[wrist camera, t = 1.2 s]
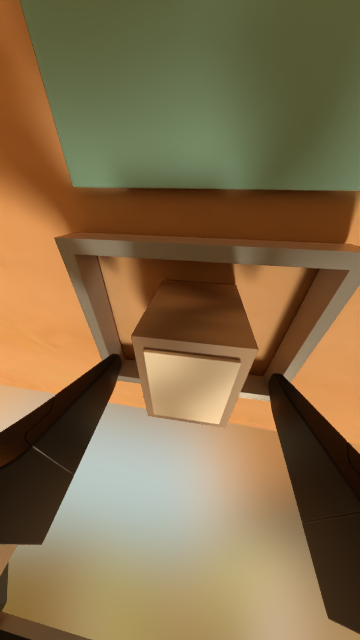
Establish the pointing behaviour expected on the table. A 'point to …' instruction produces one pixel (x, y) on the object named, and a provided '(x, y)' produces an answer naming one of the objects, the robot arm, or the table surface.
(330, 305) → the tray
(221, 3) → the mat
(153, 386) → the walnut block
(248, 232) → the table surface
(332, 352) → the table surface
